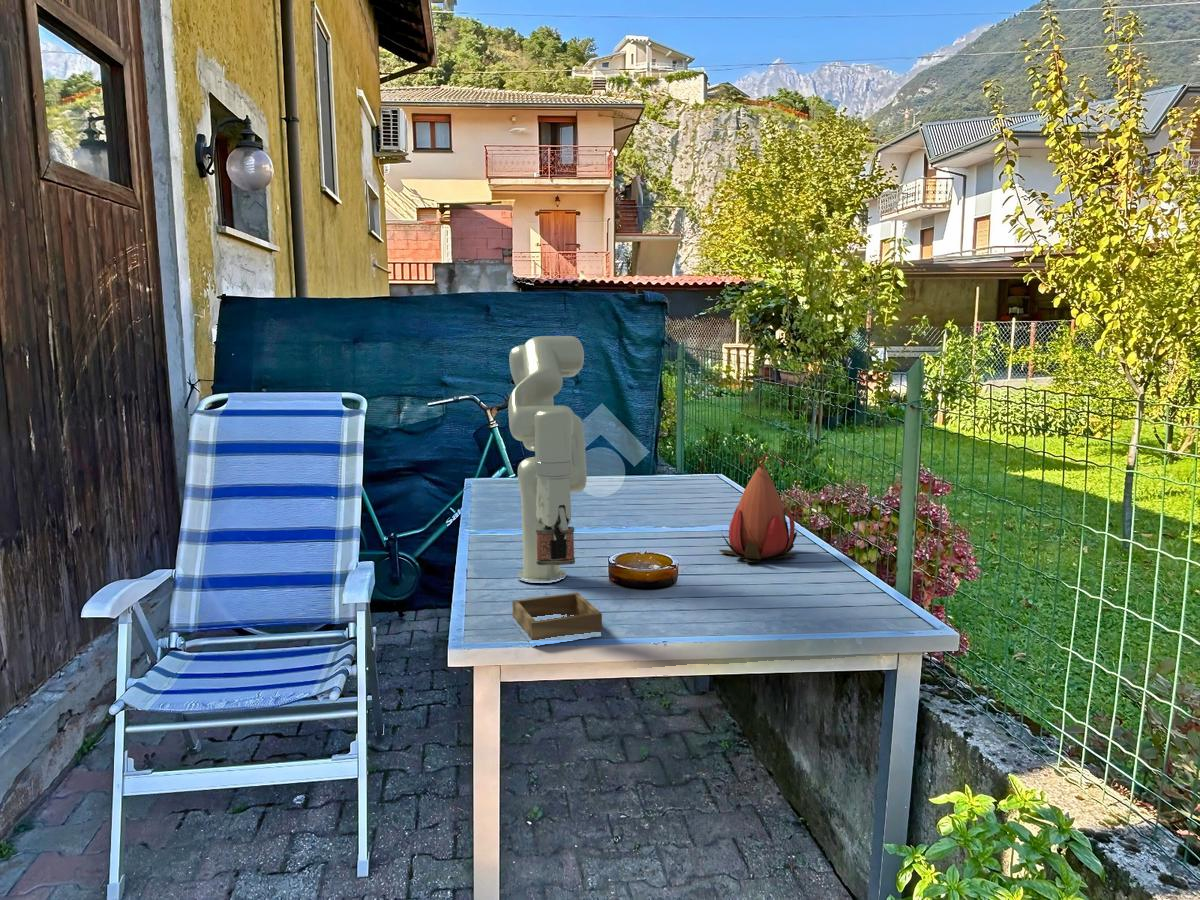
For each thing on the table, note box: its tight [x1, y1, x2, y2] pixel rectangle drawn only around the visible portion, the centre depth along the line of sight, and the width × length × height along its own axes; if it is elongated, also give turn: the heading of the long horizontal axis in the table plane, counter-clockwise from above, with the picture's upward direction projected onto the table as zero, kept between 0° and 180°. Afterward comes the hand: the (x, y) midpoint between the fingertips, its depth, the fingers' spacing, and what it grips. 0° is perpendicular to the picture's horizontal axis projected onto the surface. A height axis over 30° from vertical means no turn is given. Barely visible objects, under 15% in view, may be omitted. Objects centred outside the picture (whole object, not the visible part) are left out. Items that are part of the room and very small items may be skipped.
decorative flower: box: [718, 449, 798, 563], centre depth 223 cm, size 22×23×30 cm
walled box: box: [512, 592, 603, 640], centre depth 169 cm, size 15×15×5 cm
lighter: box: [536, 518, 576, 566], centre depth 167 cm, size 8×3×10 cm, turn 92°
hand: (555, 554), depth 167 cm, fingers closed on lighter, 4 cm apart
